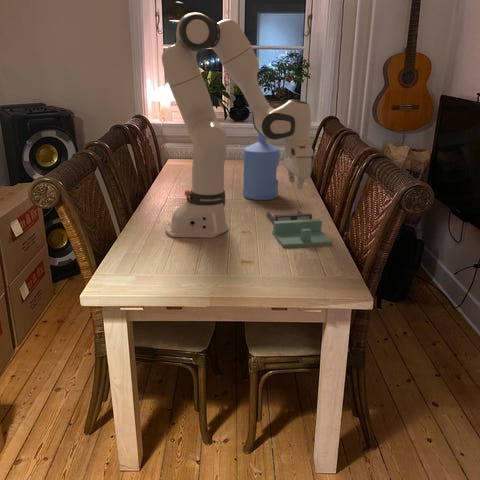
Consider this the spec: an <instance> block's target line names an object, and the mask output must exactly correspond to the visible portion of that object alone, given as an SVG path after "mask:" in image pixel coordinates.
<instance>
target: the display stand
mask: <svg viewBox="0 0 480 480" xmlns="http://www.w3.org/2000/svg"><path fill="white" fill-rule="evenodd" d="M322 223H323V220H322V219H320V218H312V219H307V220H289V221H273V224H272V226H273V227H272V228H273V229H272V234H271V235H273V237H274V238H275V239H276V241H277V242H278V244H280V246H281V247H282V248H283V249H287V248H289V249H290V248H302V247H303V248H304V247H318V246H321V247H322V246H332V244H333V242H332V241H333V240H331V239H330V238H329V237H328V236H327V235H326V234H325V233H324V232H323V231H322V225H323V224H322Z"/></svg>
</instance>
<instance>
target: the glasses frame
mask: <svg viewBox="0 0 480 480" xmlns="http://www.w3.org/2000/svg"><path fill="white" fill-rule="evenodd" d="M273 215H274V216H273ZM273 215H272V213H271V212H270V211H269V212H266V215H265V216H266V217H267V219H268V220H269V221H270V222H271V224H272V225H273V221H289V220H307V219H313V214H312V213H309V212H306V213H304V212H303V211H302V210H297V213H288V214H273Z"/></svg>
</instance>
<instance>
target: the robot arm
mask: <svg viewBox="0 0 480 480" xmlns="http://www.w3.org/2000/svg"><path fill="white" fill-rule="evenodd" d="M174 36H175V38H174V43H173V44H172V45H170V46H167V48H166V49H165V50H163V52H162V55H161V62H162V68H163V71H164V75H165V78H166V80H167V83H168V85H169V89H170V91H171V93H172V95H173V99H174V100H175V103H176V105H177V108H178V110H179V112H180V115H181V118H182V120H183V123H184V126H185V128H186V130H187V133H188V135H189V138H190V141H191V142H192V167H191V177H192V178H191V179H192V184H191V185H192V189H191V190H189V189H185V190H184V195H185V196H186V201H185V202H183V204H182V205H180V206H179V207H177V208H176V209H175V210H173V214H172V216H171V221H170V222H168V223H167V224H166V225H165V233H166V235H168V236H169V237H171V238H208V239H209V238H216V237H217V236H218V235H221V234H224V233H226V232H227V231H228V230H229V226H228V222H227V217H226V212H225V211H226V210H225V206H226V191H225V187H224V186H225V164H226V163H225V161H226V155H227V141H228V140H227V137H228V136H227V133H226V131H225V128H224V127H223V126H222V125H221V124H220V123H219V120H218V118H217V115H216V112H215V108H214V105H213V102H212V99H211V94H210V92H209V90H208V87H207V84H206V82H205V79H204V76H203V75H202V72H201V70H200V67H199V65H198V61H197V56H198V55H197V54H198V52H199V51H203V50H207V49H211V50H213V51H214V53H215V54H216V56H217V57H218V59H219V61H220V62H221V65H222V67H223V68H224V70H225V71H226V74H227V75H229V77H230V79H231V80H232V81H233V82H234V84H235V85H236V86H237V87H238V88H239V89H240V91H241V93H242V95H243V97H244V99H245V101H246V103H247V104H248V107H249V109H250V110H251V114H252V125H253V127H254V129H255V131H256V132H257V133H258V134H259V133H260V134H262V135H264V136H265V137H266V139H270V140H273V141H274V140H280V139H284V154H283V155H284V159H283V166H284V168H285V169H287V174H288V182H289V183H290V184H292V183H295V181H296V178H297V180H298V181H297V183H296V188H297V189H298V190H303V189H304V183H305V182H306V181H305V180H308V179H310V177H311V173H312V172H311V171H312V163H313V159H312V157H314V150H313V148H312V145H311V136H310V130H311V128H312V113H311V106H310V104H309V103H308V102H306V101H303V100H299V99H292V98H291V99H288V100H287V101H286V102H285V103H284V104H282V105H281V106H279V107H276V108H274V107H273V106H271V105H270V104H269V103H268V100H267V99H266V96H265V95H264V93H263V90H262V88H261V86H260V85H259V81H258V74H259V73H258V72H259V68H260V64H259V61H258V59H257V54H256V53H255V50H254V48H253V47H252V44H251V42H250V41H249V39H248V37H247V36H246V34H245V33H244V31H243V30H242V29H241V27H240V25H239V24H238V23H237V22H236V21H235V20H233V19H230V18H229V19H228V18H227V19H222V20H220V21H218V22H216V21H214V20H213V19H212V18H210V17H209V16H207V15H206V14H204V13H201V12H195V11H193V12H191V11H190V12H188V13H186V14H184V15H183V16H182V17H181V18H180V19H179V20H178V23H177V25H176V29H175V35H174ZM295 176H296V177H295Z"/></svg>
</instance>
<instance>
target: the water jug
mask: <svg viewBox="0 0 480 480" xmlns="http://www.w3.org/2000/svg"><path fill="white" fill-rule="evenodd" d="M266 139H267V137H265V136H264V135H262V134H260V133H258V140H257V142H255V143H252V144H250V145H248V146H246V147H245V148H244V149H243V172H242V177H243V178H242V179H243V181H242V182H243V183H242V184H243V185H242V188H243V189H242V195H243V197H245V198H246V199H248V200H253V201H271V200H274V199H276V198H277V197H278V196H279V180H278V179H277V168H278V167H279V166H280V158H281V155H280V154H281V153H280V149H279V148H278V147H276V146H275V145H273V144H271V143H269V142H267V140H266Z"/></svg>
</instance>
